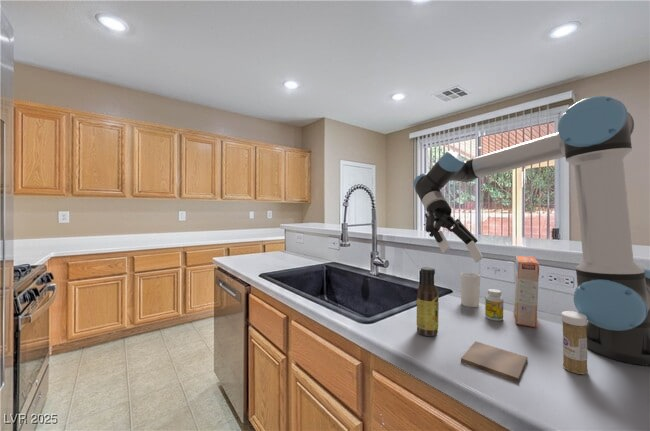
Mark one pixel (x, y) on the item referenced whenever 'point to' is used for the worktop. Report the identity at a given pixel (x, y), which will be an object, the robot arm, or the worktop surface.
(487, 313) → the supplement bottle
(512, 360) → the coaster board
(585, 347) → the sprinkles bottle
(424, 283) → the sauce bottle
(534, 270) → the cracker box
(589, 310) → the robot arm
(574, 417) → the worktop surface
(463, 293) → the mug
